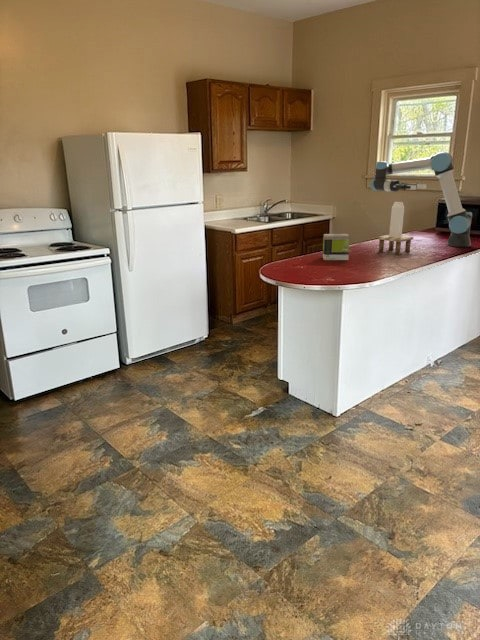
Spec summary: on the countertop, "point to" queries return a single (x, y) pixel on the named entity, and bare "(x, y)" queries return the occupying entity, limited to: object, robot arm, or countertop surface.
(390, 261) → the countertop surface
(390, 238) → the small table
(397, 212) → the milk
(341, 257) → the tea box
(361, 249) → the countertop surface
